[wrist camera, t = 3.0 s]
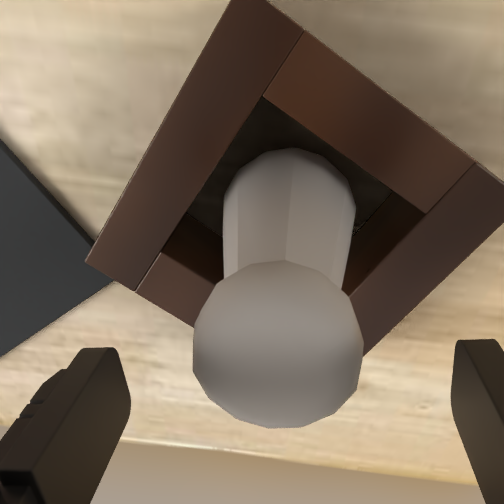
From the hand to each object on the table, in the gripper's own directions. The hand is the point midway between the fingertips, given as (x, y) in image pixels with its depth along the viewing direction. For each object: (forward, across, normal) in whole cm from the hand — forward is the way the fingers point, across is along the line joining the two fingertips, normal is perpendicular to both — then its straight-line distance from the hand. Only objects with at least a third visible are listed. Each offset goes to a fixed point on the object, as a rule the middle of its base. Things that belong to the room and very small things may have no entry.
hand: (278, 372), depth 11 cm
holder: (+13, 0, 0) cm, 13 cm away
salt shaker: (+13, 0, 0) cm, 13 cm away
